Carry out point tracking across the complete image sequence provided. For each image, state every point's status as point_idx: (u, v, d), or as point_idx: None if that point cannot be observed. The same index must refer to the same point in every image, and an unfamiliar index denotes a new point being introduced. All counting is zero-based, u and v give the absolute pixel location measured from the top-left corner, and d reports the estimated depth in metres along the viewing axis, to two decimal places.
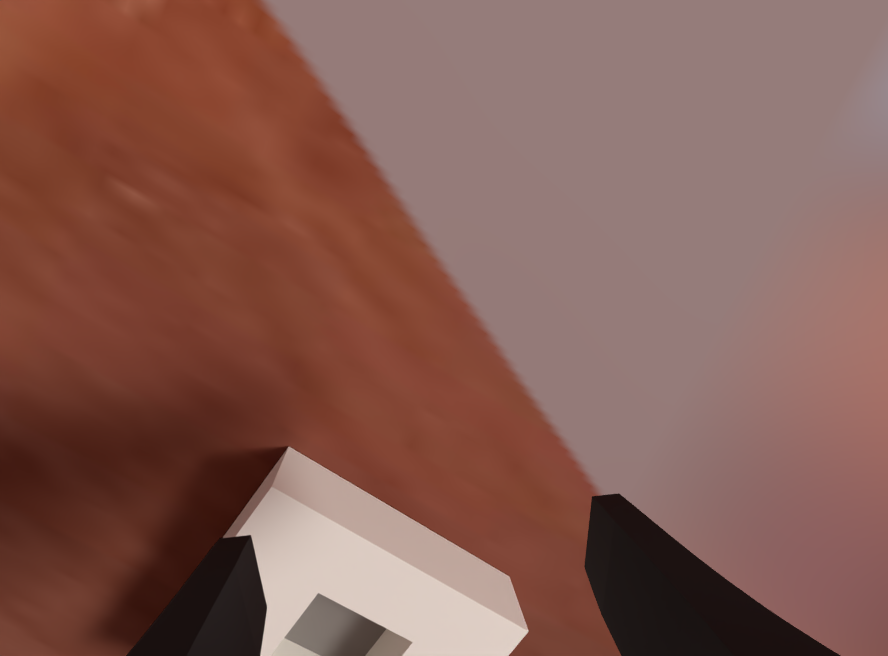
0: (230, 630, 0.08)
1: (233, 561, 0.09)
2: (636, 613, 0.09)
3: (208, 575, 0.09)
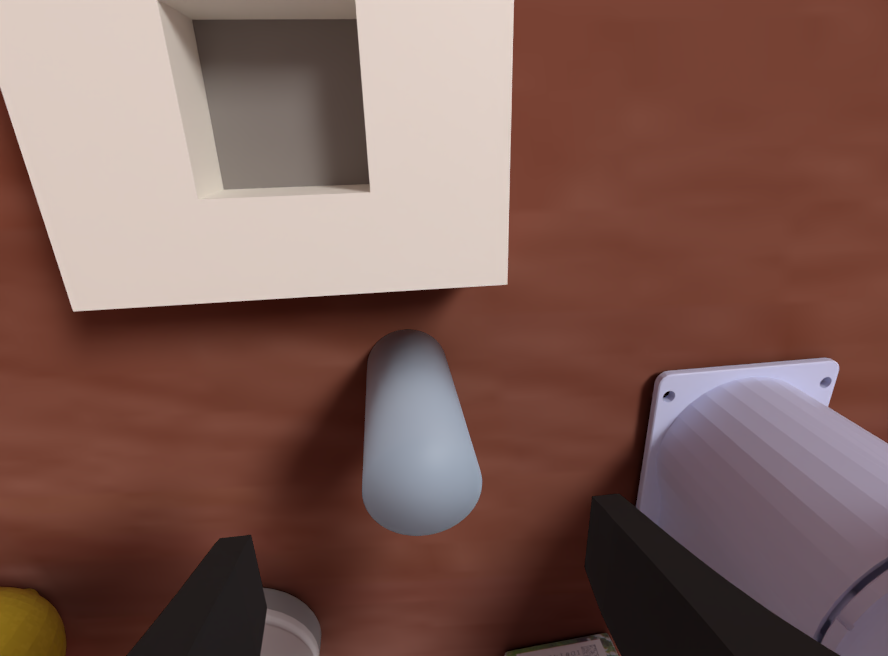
0: (230, 630, 0.08)
1: (233, 561, 0.09)
2: (635, 612, 0.09)
3: (208, 575, 0.09)
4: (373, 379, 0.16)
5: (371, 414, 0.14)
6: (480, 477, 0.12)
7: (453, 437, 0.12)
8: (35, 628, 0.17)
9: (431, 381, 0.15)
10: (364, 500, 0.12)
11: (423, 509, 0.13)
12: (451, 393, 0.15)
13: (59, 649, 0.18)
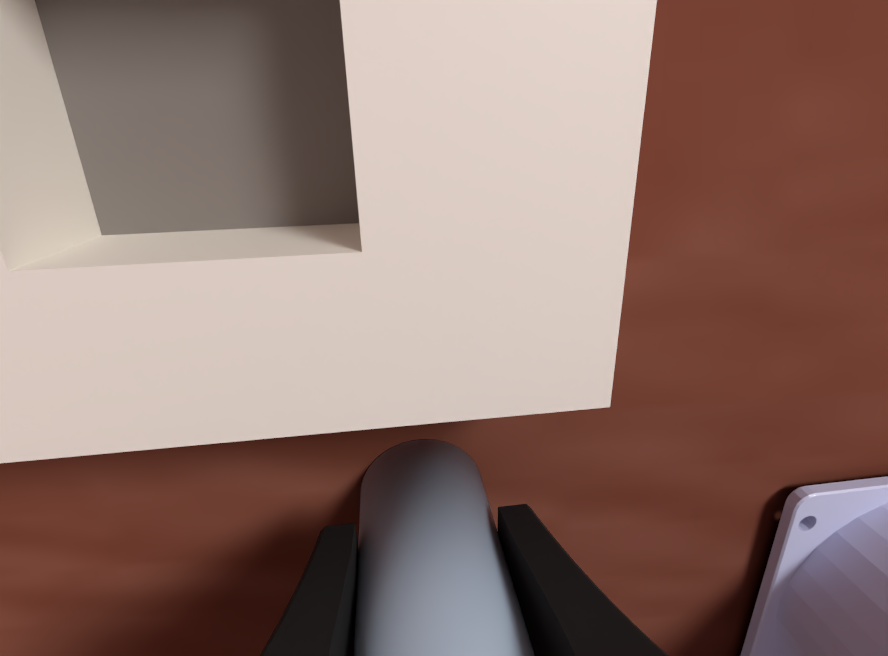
0: (350, 614, 0.09)
1: (348, 548, 0.09)
2: (527, 628, 0.09)
3: (328, 561, 0.09)
4: (369, 552, 0.09)
5: None
6: None
7: None
8: None
9: (473, 581, 0.08)
10: None
11: None
12: (508, 599, 0.08)
13: None
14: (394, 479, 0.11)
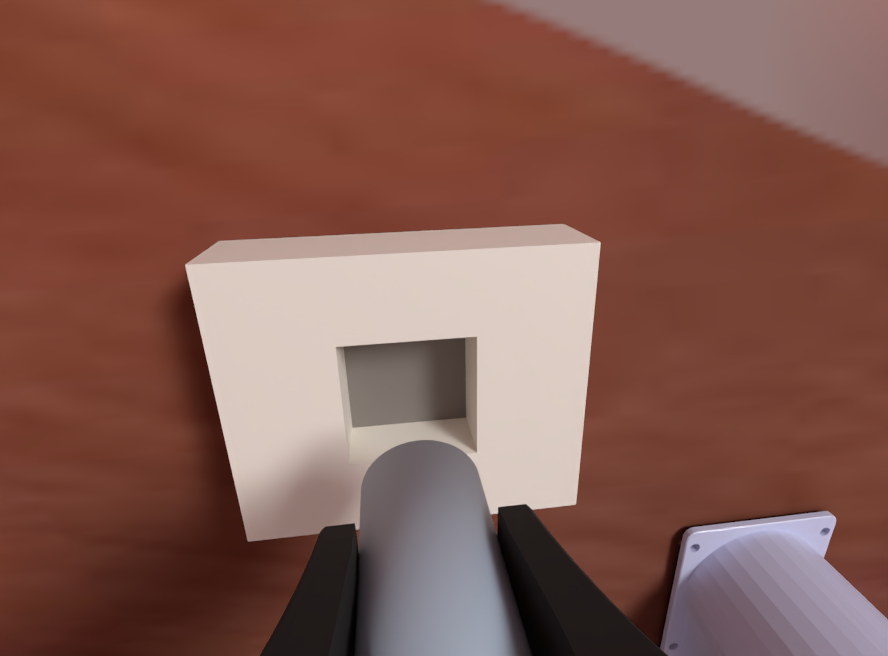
0: (351, 614, 0.09)
1: (348, 547, 0.09)
2: (527, 628, 0.09)
3: (328, 561, 0.09)
4: (368, 554, 0.10)
5: None
6: None
7: None
8: None
9: (469, 582, 0.08)
10: None
11: None
12: (504, 598, 0.08)
13: None
14: (392, 481, 0.11)
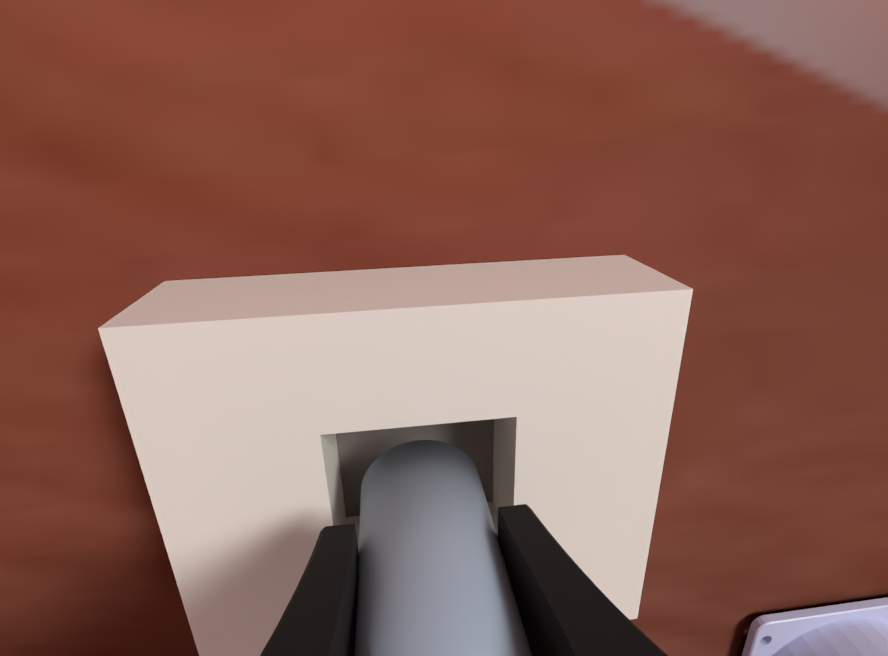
0: (350, 614, 0.09)
1: (348, 548, 0.09)
2: (526, 628, 0.09)
3: (328, 561, 0.09)
4: (368, 554, 0.09)
5: None
6: None
7: None
8: None
9: (469, 581, 0.08)
10: None
11: None
12: (504, 598, 0.08)
13: None
14: (392, 481, 0.11)
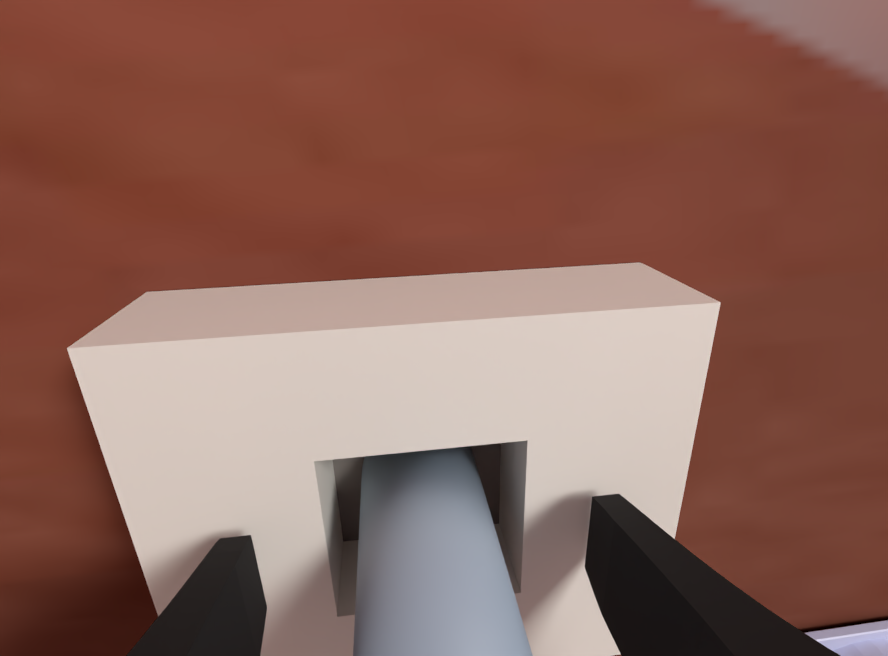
0: (230, 630, 0.08)
1: (233, 561, 0.09)
2: (636, 613, 0.09)
3: (208, 575, 0.09)
4: (368, 523, 0.10)
5: (363, 612, 0.08)
6: None
7: None
8: None
9: (461, 543, 0.09)
10: None
11: None
12: (494, 558, 0.09)
13: None
14: (391, 458, 0.12)
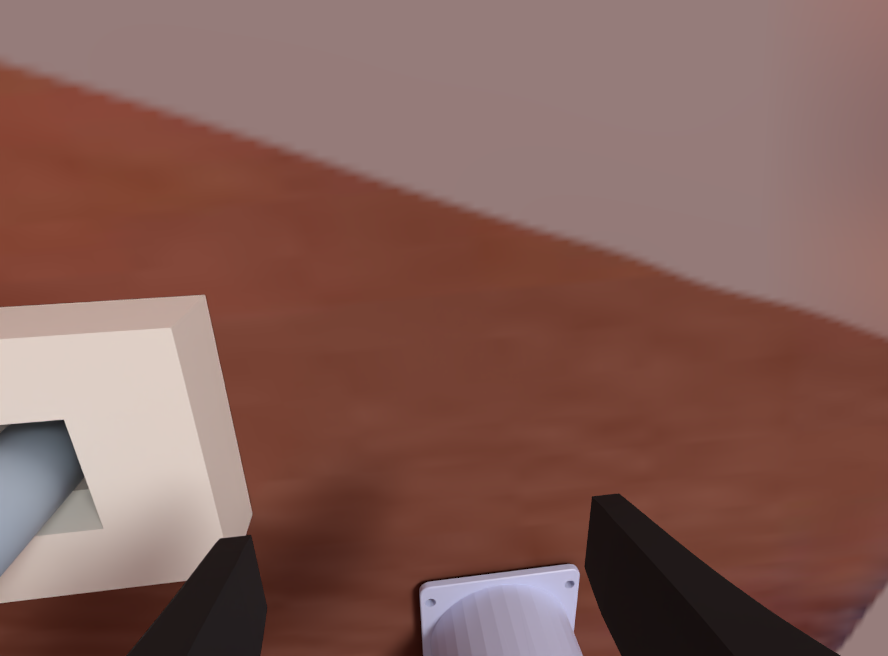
0: (230, 630, 0.08)
1: (233, 561, 0.09)
2: (636, 613, 0.09)
3: (208, 575, 0.09)
4: None
5: None
6: None
7: None
8: None
9: None
10: None
11: None
12: (1, 494, 0.14)
13: None
14: (0, 433, 0.17)
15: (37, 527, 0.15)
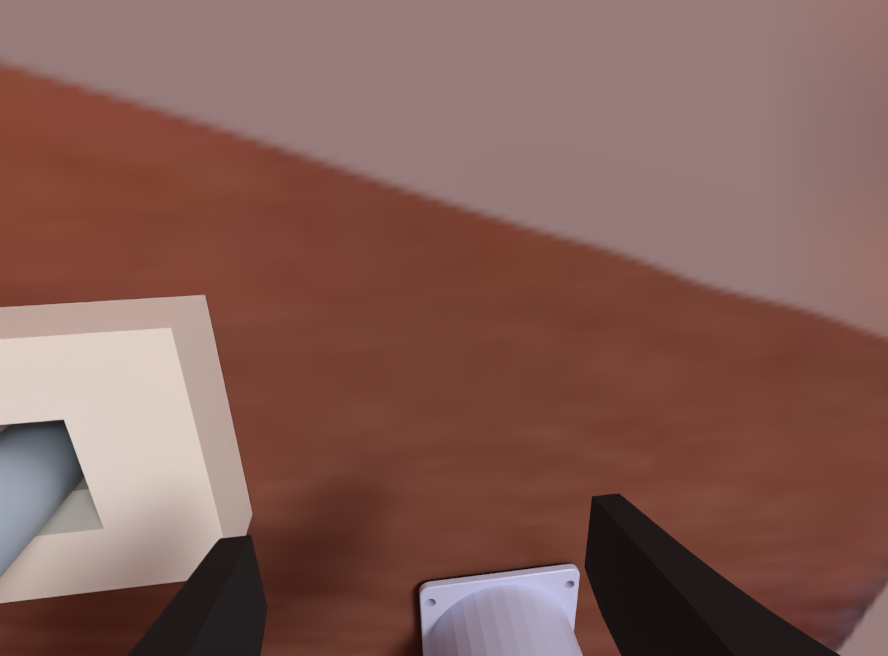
0: (230, 630, 0.08)
1: (233, 561, 0.09)
2: (636, 613, 0.09)
3: (208, 575, 0.09)
4: None
5: None
6: None
7: None
8: None
9: None
10: None
11: None
12: (2, 494, 0.14)
13: None
14: (0, 433, 0.17)
15: (38, 527, 0.15)
